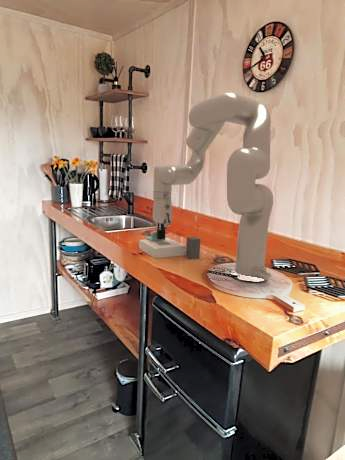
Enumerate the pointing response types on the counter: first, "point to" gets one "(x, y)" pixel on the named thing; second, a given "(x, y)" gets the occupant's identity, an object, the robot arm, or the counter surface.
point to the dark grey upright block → (193, 248)
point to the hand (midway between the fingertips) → (160, 238)
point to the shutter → (153, 237)
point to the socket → (162, 248)
